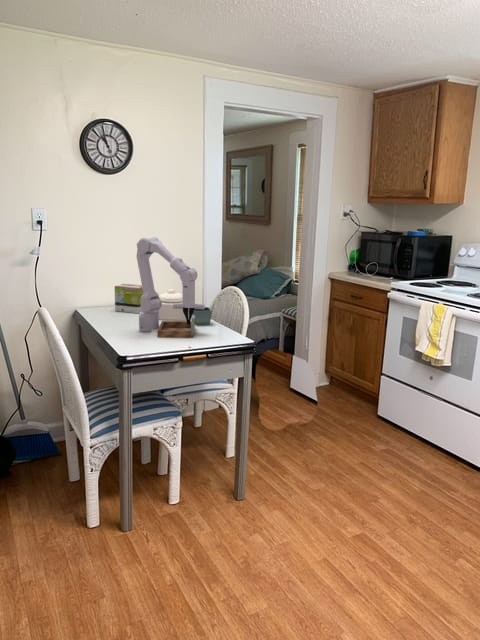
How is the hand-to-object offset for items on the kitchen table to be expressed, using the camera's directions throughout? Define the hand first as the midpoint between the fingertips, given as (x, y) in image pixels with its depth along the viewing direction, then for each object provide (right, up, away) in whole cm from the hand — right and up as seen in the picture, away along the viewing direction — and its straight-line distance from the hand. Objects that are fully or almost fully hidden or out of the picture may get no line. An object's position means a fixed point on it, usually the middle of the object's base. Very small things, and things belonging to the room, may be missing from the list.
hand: (188, 324), depth 235 cm
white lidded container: (-13, +3, +40) cm, 42 cm away
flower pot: (+4, -2, +20) cm, 21 cm away
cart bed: (-6, -5, +1) cm, 8 cm away
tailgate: (+3, -4, +1) cm, 5 cm away
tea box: (-38, +7, +53) cm, 66 cm away
